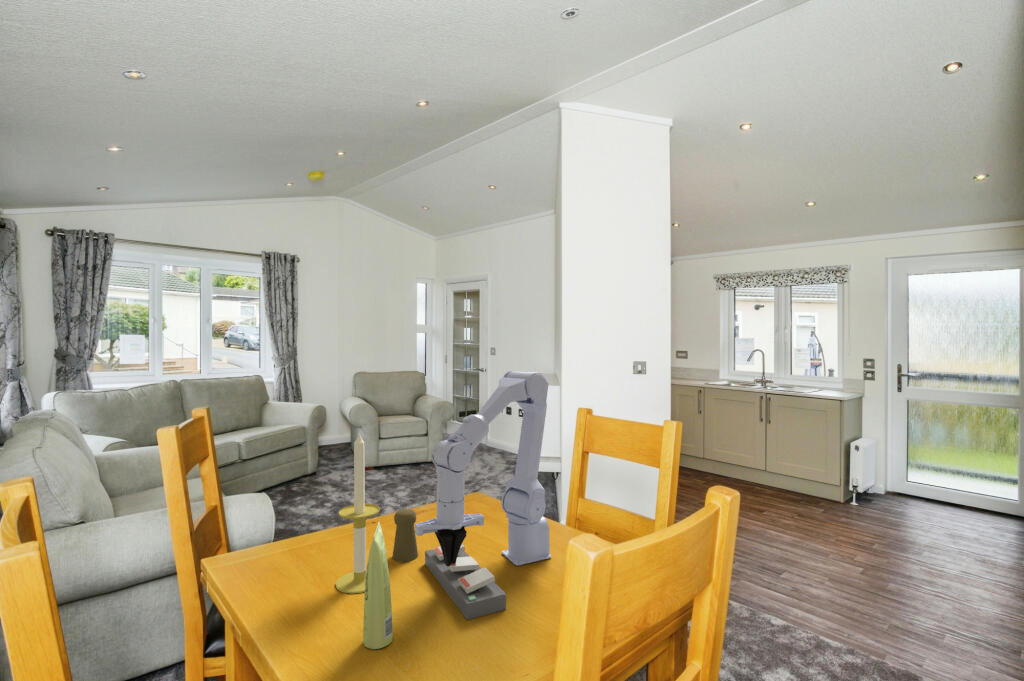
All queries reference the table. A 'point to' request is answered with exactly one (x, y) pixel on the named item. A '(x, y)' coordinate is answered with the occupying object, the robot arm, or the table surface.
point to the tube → (377, 596)
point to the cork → (405, 536)
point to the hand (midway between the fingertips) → (449, 563)
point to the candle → (357, 525)
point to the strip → (471, 603)
